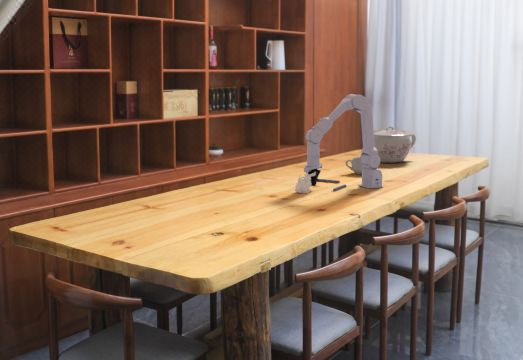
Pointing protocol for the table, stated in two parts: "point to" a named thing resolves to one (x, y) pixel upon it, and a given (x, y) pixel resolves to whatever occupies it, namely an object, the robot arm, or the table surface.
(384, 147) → the chamber pot
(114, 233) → the table surface
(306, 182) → the white figurine
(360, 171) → the teacup
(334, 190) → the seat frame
